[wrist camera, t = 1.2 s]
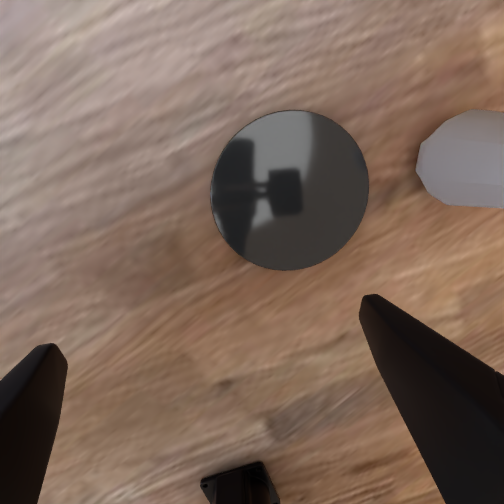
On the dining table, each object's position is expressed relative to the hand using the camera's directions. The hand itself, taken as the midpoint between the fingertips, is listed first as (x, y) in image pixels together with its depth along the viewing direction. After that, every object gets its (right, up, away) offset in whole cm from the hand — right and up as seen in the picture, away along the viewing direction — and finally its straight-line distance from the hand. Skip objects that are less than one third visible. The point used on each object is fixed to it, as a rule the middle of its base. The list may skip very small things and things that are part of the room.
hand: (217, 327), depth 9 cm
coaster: (+4, +6, +13) cm, 15 cm away
